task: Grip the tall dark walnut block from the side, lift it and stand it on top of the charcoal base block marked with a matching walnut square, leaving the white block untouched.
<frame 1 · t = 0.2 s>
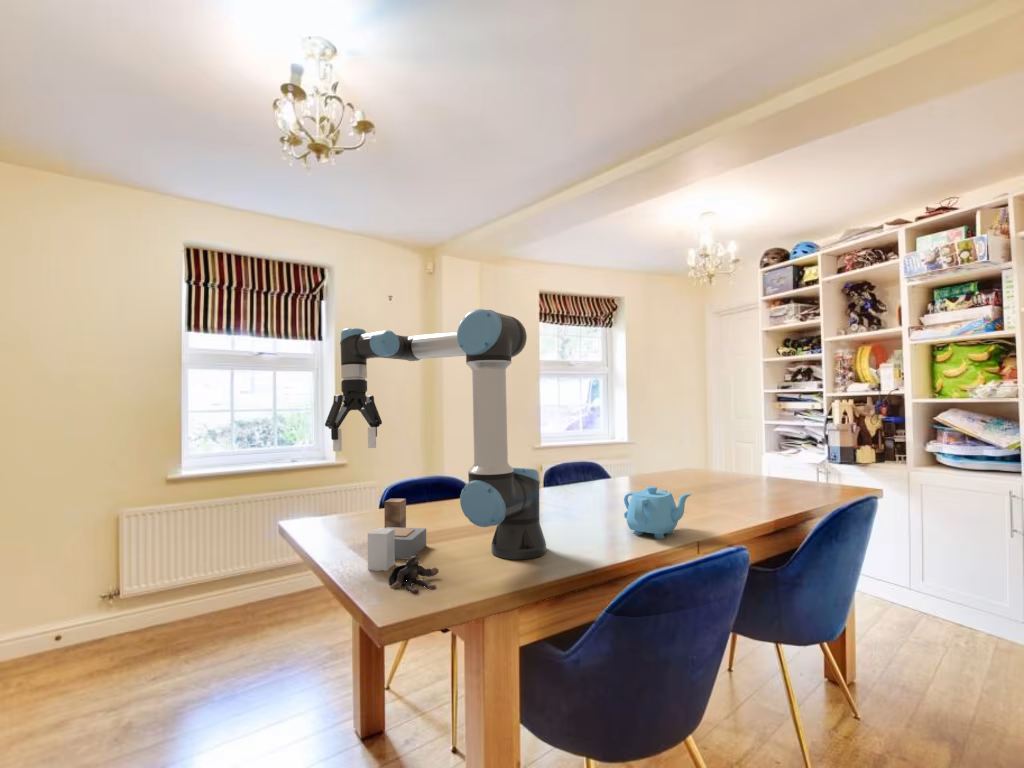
hand: (355, 449, 150), 27 cm above the table, tool pointing down, fingers open, 13 cm apart
teapot: (657, 534, 153), on the table
stuffed animal: (414, 584, 115), on the table
walnut block: (395, 535, 154), on the table
base block: (398, 551, 138), on the table
white block: (381, 567, 125), on the table
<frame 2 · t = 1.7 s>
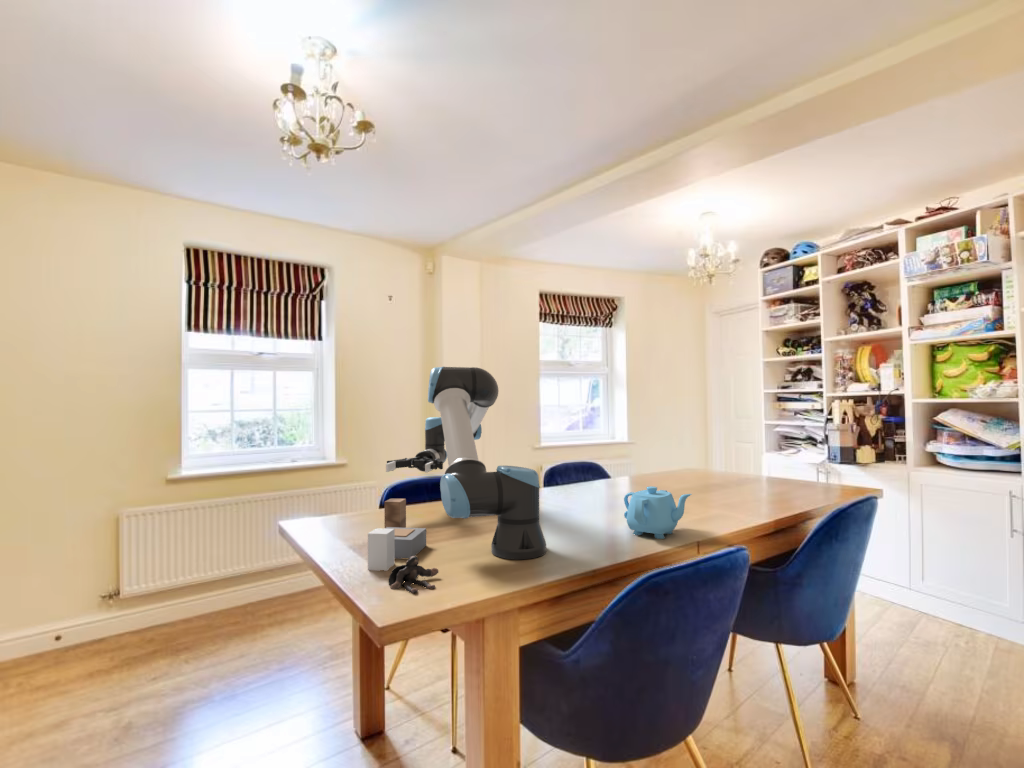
hand: (406, 468, 165), 20 cm above the table, tool horizontal, fingers open, 13 cm apart
nothing on the table moved.
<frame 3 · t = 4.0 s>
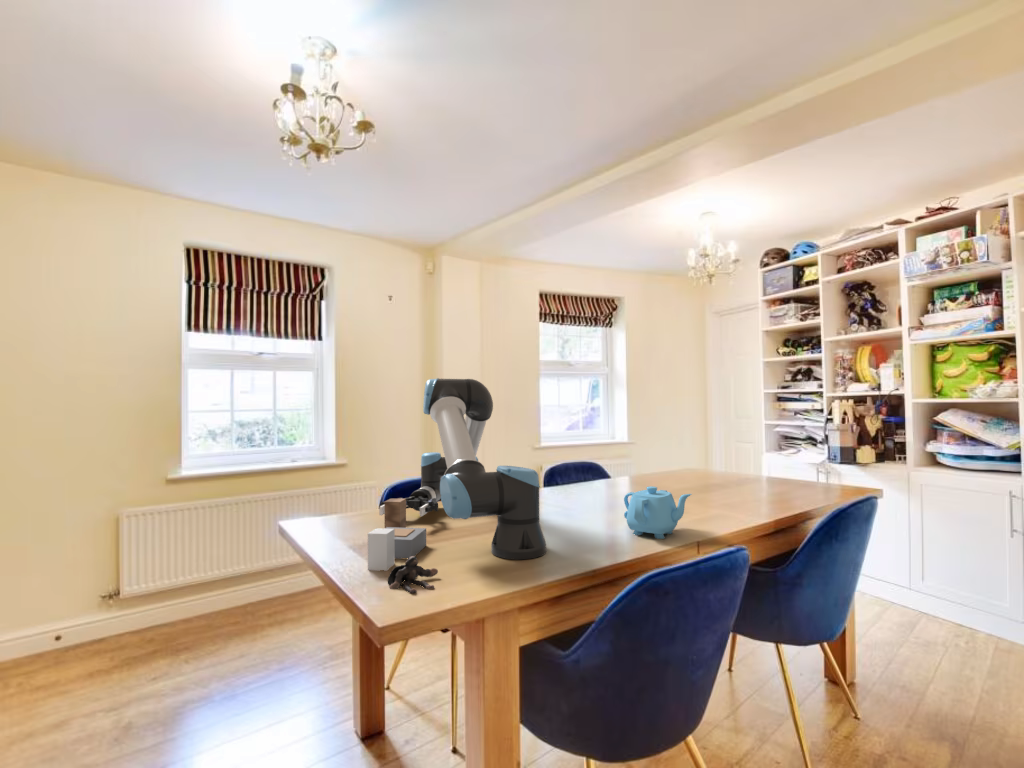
hand: (400, 511, 160), 6 cm above the table, tool horizontal, fingers open, 13 cm apart
nothing on the table moved.
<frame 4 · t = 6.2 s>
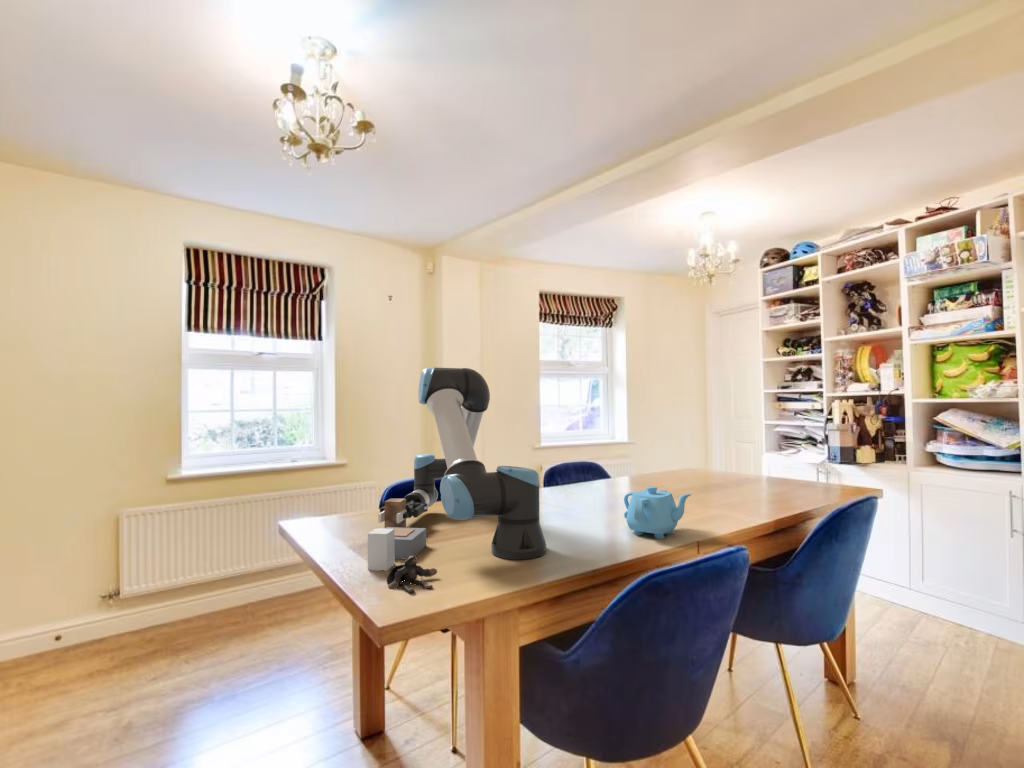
hand: (388, 518, 149), 7 cm above the table, tool horizontal, fingers closed on walnut block, 5 cm apart
walnut block: (395, 535, 154), on the table, touching gripper
everything else where it was.
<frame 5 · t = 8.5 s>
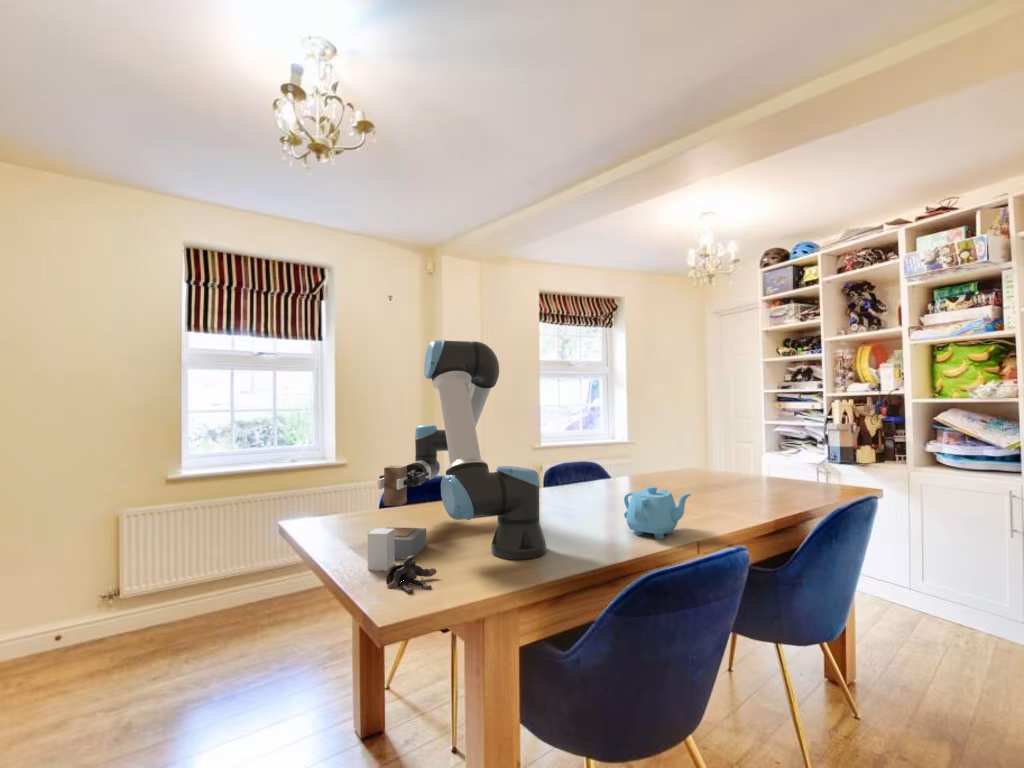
hand: (388, 484, 143), 18 cm above the table, tool horizontal, fingers closed on walnut block, 5 cm apart
walnut block: (395, 503, 148), point 11 cm above the table, touching gripper
everything else where it was.
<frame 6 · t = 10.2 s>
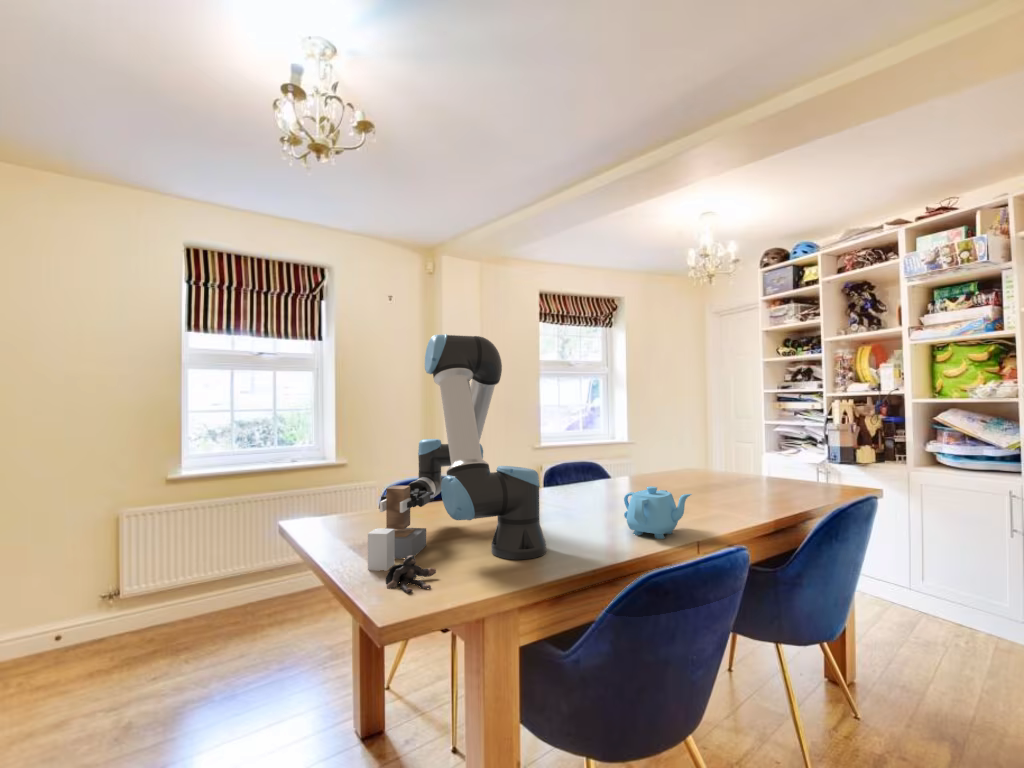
hand: (391, 507, 133), 13 cm above the table, tool horizontal, fingers closed on walnut block, 5 cm apart
walnut block: (398, 526, 138), point 7 cm above the table, touching gripper
everything else where it was.
when the fingers open (13 cm above the table, at t = 10.6 s): walnut block drops 1 cm, resting on base block.
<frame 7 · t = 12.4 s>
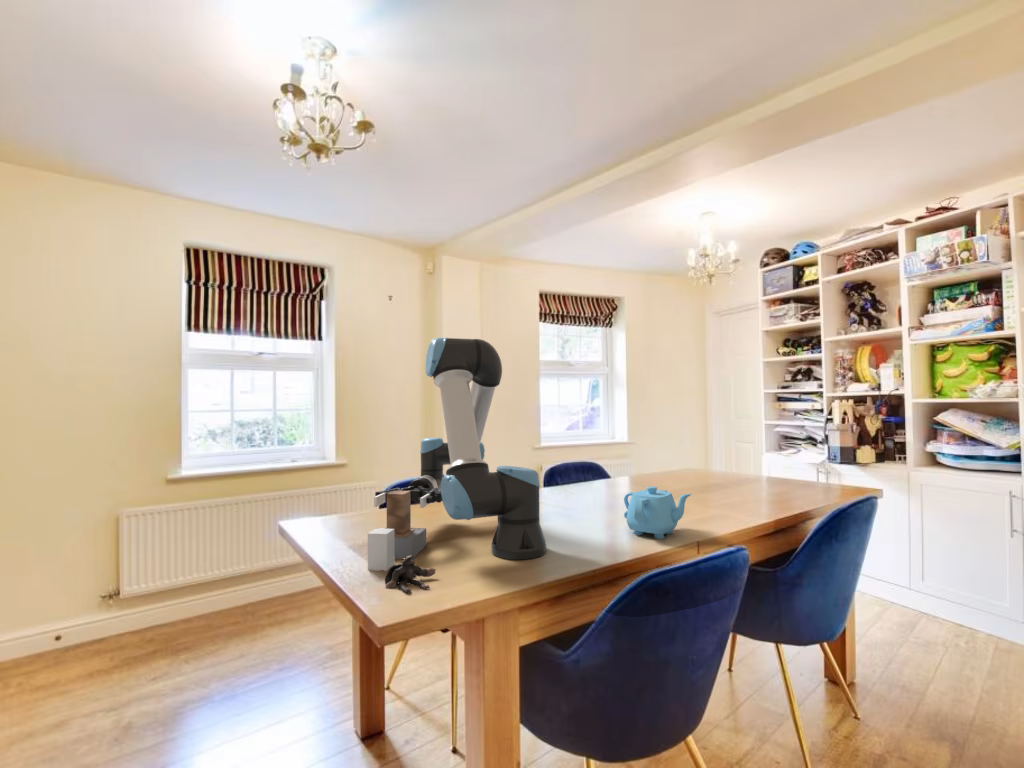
hand: (397, 502, 139), 13 cm above the table, tool horizontal, fingers open, 13 cm apart
walnut block: (398, 532, 138), point 5 cm above the table, touching base block
everything else where it was.
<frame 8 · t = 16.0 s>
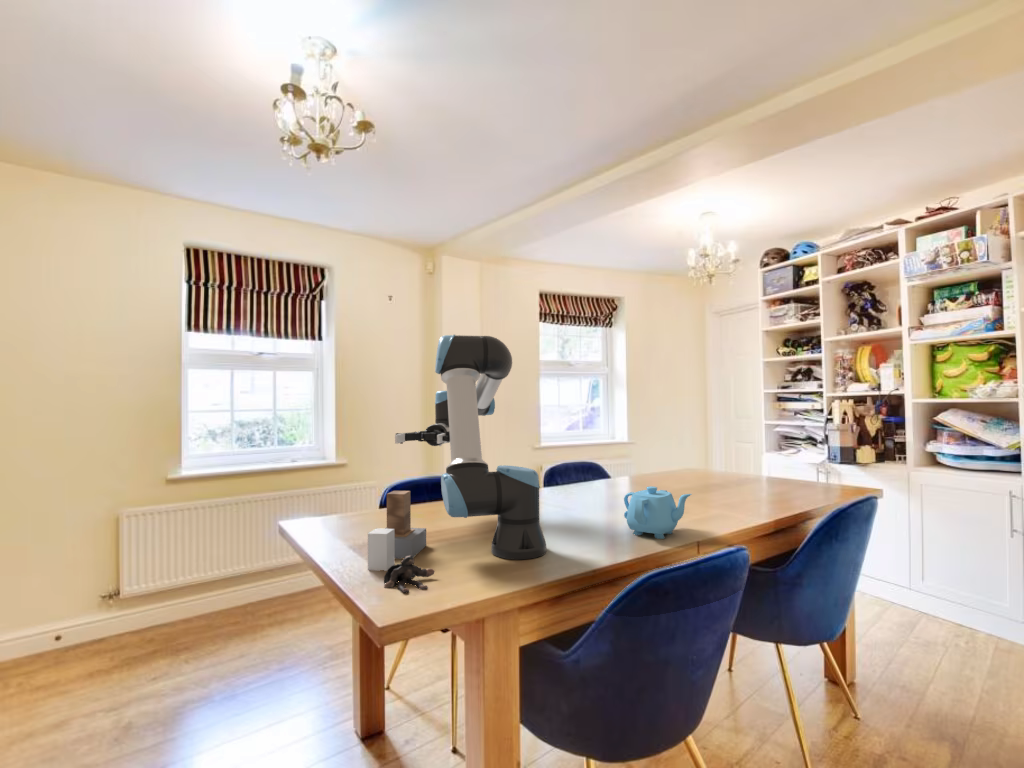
hand: (416, 439, 154), 30 cm above the table, tool horizontal, fingers open, 13 cm apart
at the end: walnut block 0.1 cm off-centre on the base block, point 5.3 cm above the base block's base; walnut block tilted 0°; the gripper is holding nothing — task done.
